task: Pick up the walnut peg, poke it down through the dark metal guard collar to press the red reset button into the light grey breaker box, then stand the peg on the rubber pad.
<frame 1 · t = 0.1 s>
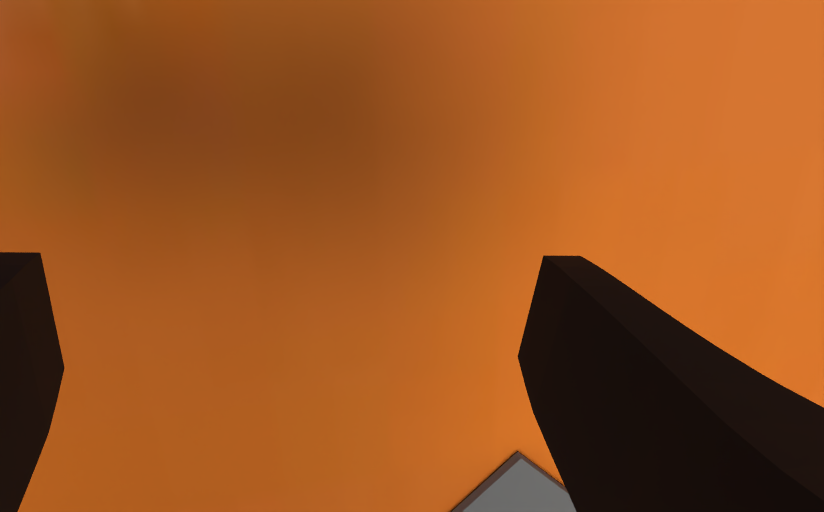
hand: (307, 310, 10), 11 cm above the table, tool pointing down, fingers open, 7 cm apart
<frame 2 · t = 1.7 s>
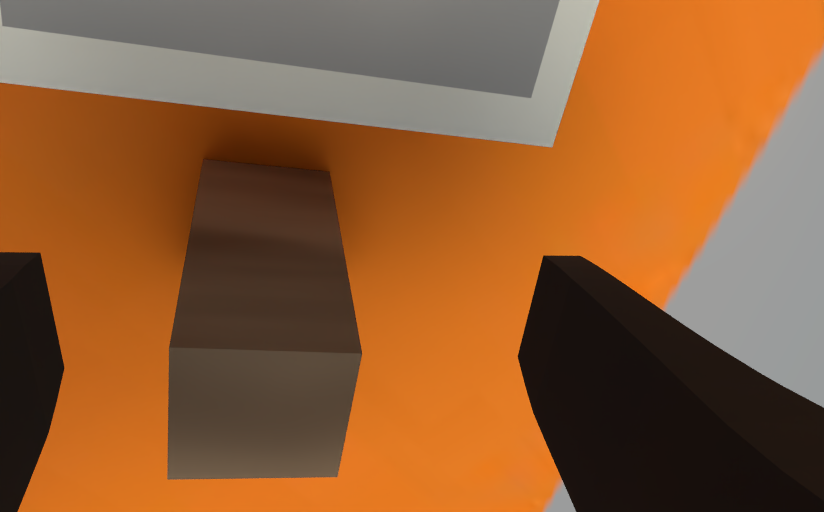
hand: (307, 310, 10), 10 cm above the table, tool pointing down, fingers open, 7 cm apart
walnut peg: (262, 219, 20), on the table
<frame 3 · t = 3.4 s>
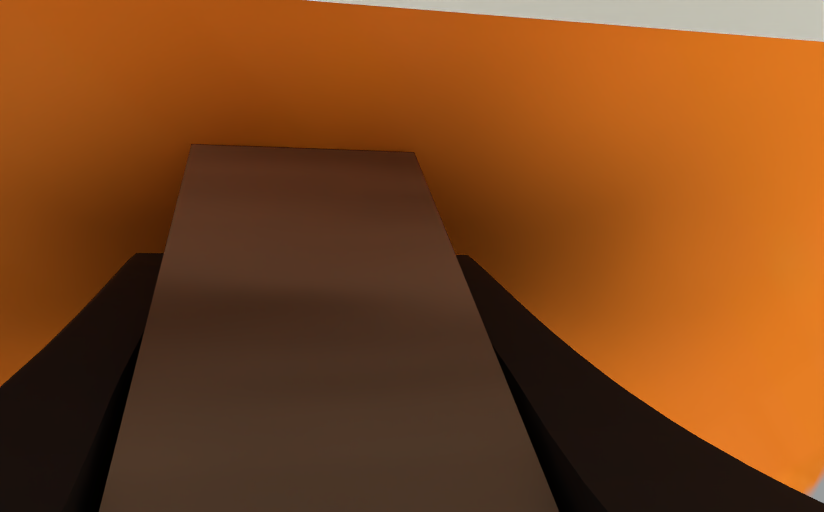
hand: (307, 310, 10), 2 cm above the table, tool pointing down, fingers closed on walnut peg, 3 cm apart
walnut peg: (303, 242, 12), on the table, touching gripper
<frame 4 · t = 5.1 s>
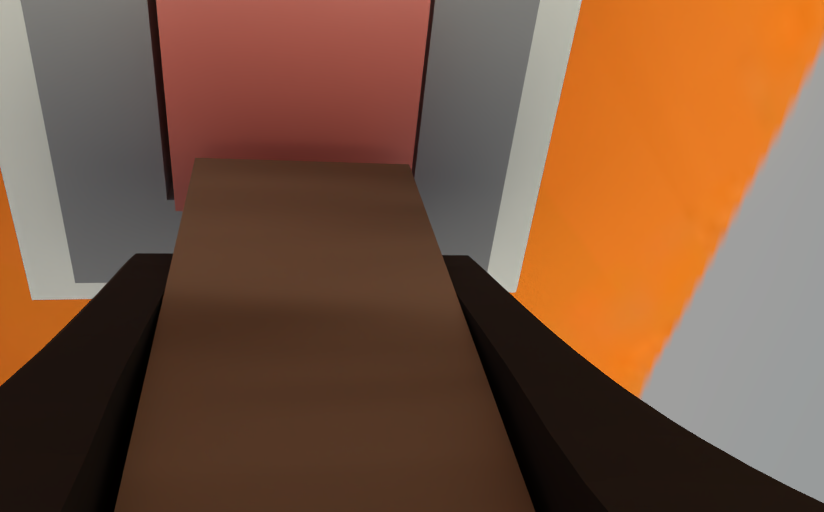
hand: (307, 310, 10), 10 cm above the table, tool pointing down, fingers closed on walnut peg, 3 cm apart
walnut peg: (302, 249, 12), point 8 cm above the table, touching gripper
reset button: (293, 67, 14), point 5 cm above the table, slide at 0.0 cm
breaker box: (288, 8, 18), on the table
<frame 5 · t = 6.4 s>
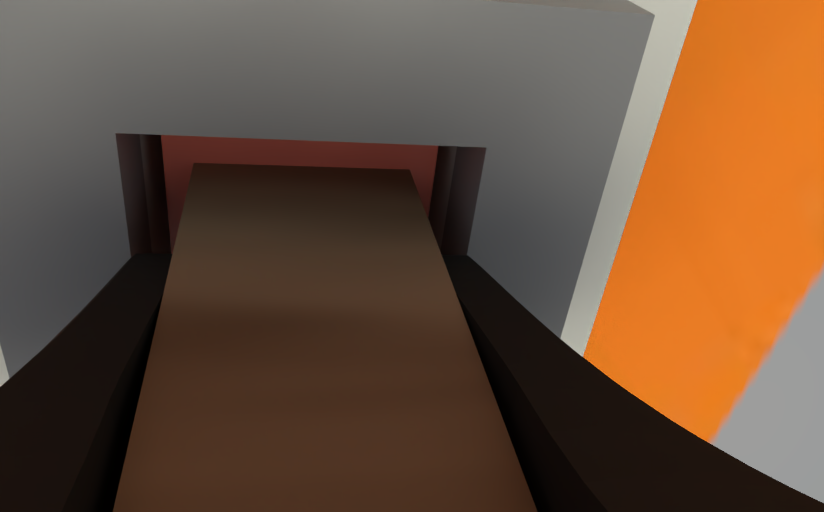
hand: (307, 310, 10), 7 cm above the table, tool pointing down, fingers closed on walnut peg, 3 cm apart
walnut peg: (302, 255, 12), point 4 cm above the table, touching gripper, reset button
reset button: (298, 185, 14), point 2 cm above the table, slide at 2.6 cm, touching walnut peg
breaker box: (295, 137, 16), on the table
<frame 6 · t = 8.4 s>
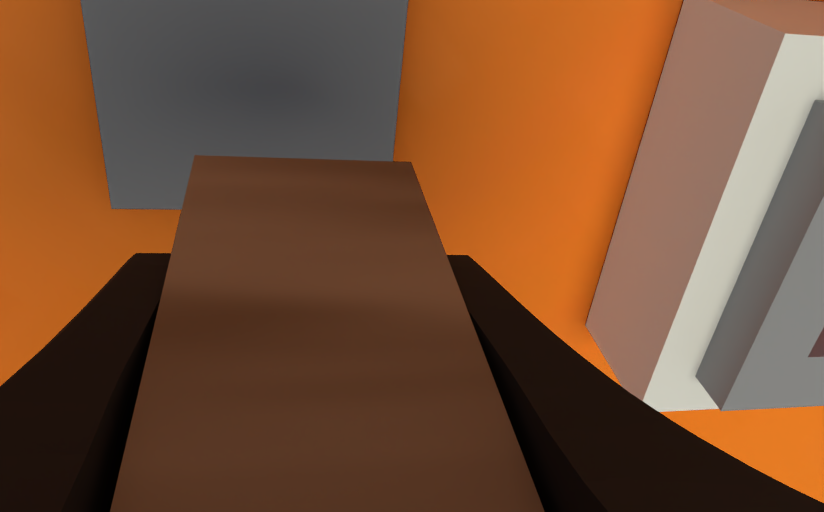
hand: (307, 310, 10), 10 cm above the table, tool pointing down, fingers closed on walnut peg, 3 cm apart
walnut peg: (303, 249, 12), point 8 cm above the table, touching gripper
rubber pad: (252, 73, 18), on the table
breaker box: (788, 185, 24), on the table
when the fingers open (3 cm above the table, at t = 10.3 s): walnut peg stays where it is, resting on rubber pad.
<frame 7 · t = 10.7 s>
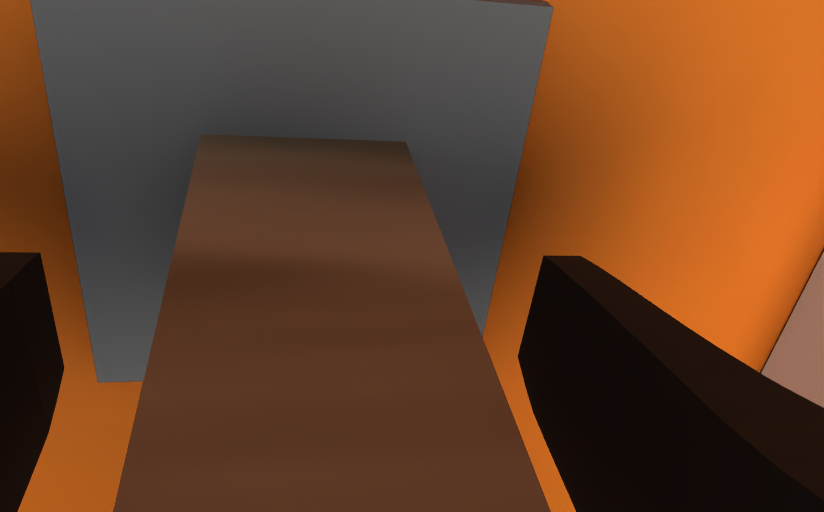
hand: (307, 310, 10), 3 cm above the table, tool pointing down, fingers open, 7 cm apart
walnut peg: (303, 225, 13), resting on rubber pad
rubber pad: (301, 204, 13), on the table
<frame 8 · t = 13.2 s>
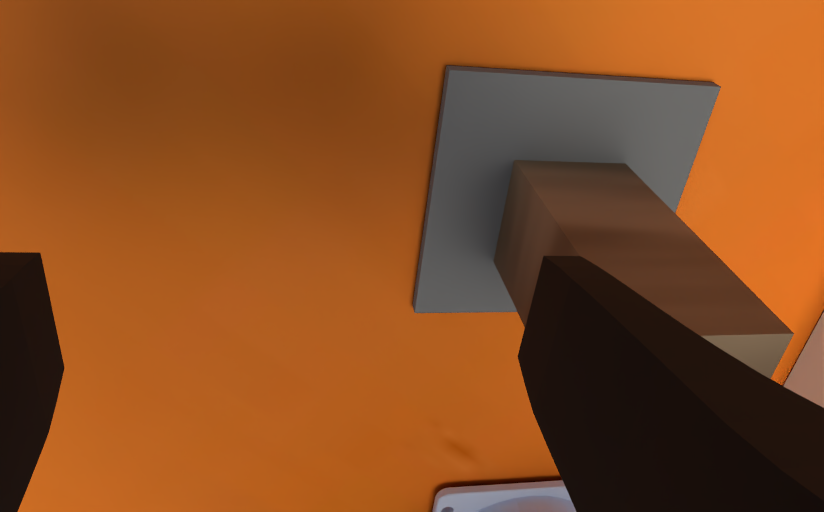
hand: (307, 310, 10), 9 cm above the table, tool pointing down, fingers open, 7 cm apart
walnut peg: (557, 213, 21), resting on rubber pad
rubber pad: (553, 200, 21), on the table
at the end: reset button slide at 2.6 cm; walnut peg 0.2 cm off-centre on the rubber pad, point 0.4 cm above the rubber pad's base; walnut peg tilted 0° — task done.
